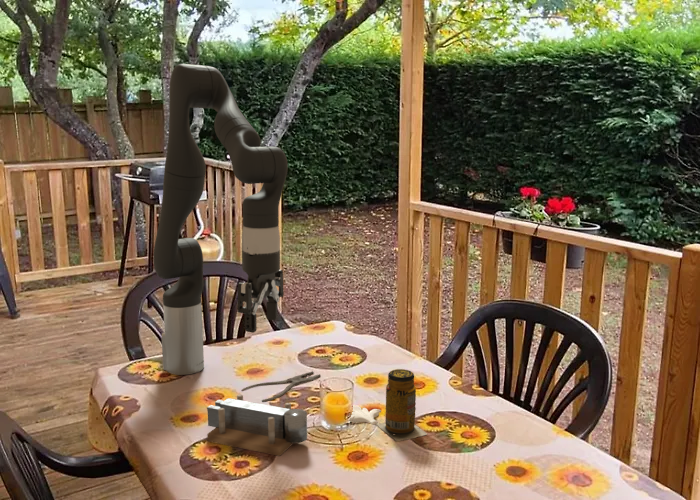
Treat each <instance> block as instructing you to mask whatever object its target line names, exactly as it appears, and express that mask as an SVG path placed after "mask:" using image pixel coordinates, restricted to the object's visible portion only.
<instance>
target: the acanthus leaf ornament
mask: <svg viewBox="0 0 700 500" xmlns="http://www.w3.org/2000/svg"><path fill="white" fill-rule="evenodd" d="M381 412H382V410H381V409H377V408H373V409H371V410H370V411H369V410H368V409H367V408H366V407H363V408H361V407H360V406H358V405H355V404H353V412H352V415H351V417H350V421H351V422H353V423H354V424H357V423H369V424H371V425H377V424H379V423H378V420H375V418H377V417H378V416H379V415H380V413H381Z"/></svg>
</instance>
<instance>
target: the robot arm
mask: <svg viewBox="0 0 700 500" xmlns="http://www.w3.org/2000/svg"><path fill="white" fill-rule="evenodd" d="M234 97H235V96H234V95H233V93H232V91H231V89H230V86H229V85H228V83H227V81H226V79H225V77H224V76H223V74H222V72H221V71H220V70H219V69H217V68H216V67H213V66H210V65H199V64H188V63H187V64H186V63H179V64H176V65H175V66H174V67H173V69H172V72H171V76H170V80H169V102H168V103H169V104H168V105H169V106H168V107H169V108H168V109H169V111H168V112H169V113H168V116H169V117H168V137H167V146H166V147H167V148H166V157H165V163H164V170H163V171H164V173H163V185H162V199H161V207H160V208H161V209H160V216H159V221H158V222H159V223H158V227H157V232H156V236H155V242H154V248H153V260H152V261H153V267H154V271H155V273H156V275H157V276H158V277H159V278H161V279H164V280H171V279H176V278H178V280H177V281H176V283H174V285H172V286H171V287H170V288H168V289H166V290H165V291H164V292H163V294H162V305H163V306H162V309H163V325H164V332H162V333H161V336H160V337H161V351H162V352H161V354H162V369H163V371H167V373H170V374H171V375H175V376H176V375H178V376H180V375H181V376H183V375H185V376H187V375H192V374H196V373H199V372H200V371H202V370H203V369H204V368H205V359H204V337H203V336H204V334H203V313H202V295H203V290H204V255H203V251H202V250H203V249H202V247H201V244H200V243H199V242H198V240H196V238H193V237H184V238H179V237H180V234H181V230H182V227H183V226H184V223H185V222H186V221H187V219H188V217H189V215H190V214H191V213H192V211H193V210H194V209H195V208H196V205H198V203H199V201H200V199H201V198H202V196H203V192H204V189H205V188H204V187H205V181H206V180H205V179H206V172H207V171H206V170H207V165H206V161H205V158H204V156H203V154H202V151H201V150H200V148H199V146H198V143H197V142H196V140H195V139H194V136H193V133H192V130H191V128H190V127H191V126H190V108H191V109H193V108H194V109H213V110H215V112H216V115H215V119H214V126H213V127H214V131H215V135H216V137H217V138H218V140H219V142H220V143H221V144H222V146H223V147H224V149H225V150H226V152H228V156H229V159H230V162H231V167H232V170H233V171H232V172H233V175H234V176H235V178H236V179H237V180H238V181H239V182H241V183H243V184H246V185H253V184H262V186H261V188H260V191H258V192H256V193H254V194H251V195H247V196H246V197H245V198H244V199H243V201H242V232H241V233H242V234H241V265H242V267H241V269H242V271H243V272H244V273H245V274H247V280H246V282H238V284H237V313H240V314H244V331H245V332H247V333H253V334H254V333H255V332H257V328H258V327H257V312H258V311H257V310H258V308H259V306H261V304H262V303H263V300H264V299H265V300H266V301H267V302H266V318H267V320H270V321H276V320H277V319H278V303H279V302H280V298H282V297H284V294H285V293H284V270H282V269H281V235H280V234H281V233H280V228H279V227H280V226H279V224H280V221H279V215H280V214H279V210H280V201H281V197H282V193H283V191H284V190H283V189H284V187H285V182H286V179H287V175H288V168H289V164H288V159H287V156H286V154H285V152H284V151H283V150H282V149H281V148H280V147H278V146H261V145H262V143H261V137H260V135H259V133H258V132H257V131H256V129H255V128H254V127H253V126H252V125H251V123H250V122H249V121H248V120H247V118H246V117H245V116H244V115H243V113H242V111H241V109H240V108H239V106H238V104H237V101H236V99H235V98H234ZM277 287H278V288H277Z"/></svg>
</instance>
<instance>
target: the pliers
mask: <svg viewBox="0 0 700 500" xmlns="http://www.w3.org/2000/svg"><path fill="white" fill-rule="evenodd" d="M313 374H314V371H313V370H312V371H308V372H306V373H302V374H298V375H296V376H293V377H290V378H287V379H285V380H277V381H269V382H267V381H266V382H260V383H256V384H255V383H254V384H252V385H249V386H248V385H247V386H246V387H243V388H242V389H241V391H242V392H244V391H247V390H249V389H252V388H256V387H261V386H262V387H263V386H273V385H286V384H288V385H287V386H286V387H285V388H284V389H283V390H282V391H281V392H280V393H279V394H277V395H274V396H272V397H268V398H265V399H262V400H261V402H262V403H264V402H269V401H273V400H275V399H278V398H280V397H282V396H284V395H286V393H288V391H290V390H291V389H292V388H293V387H295V386H298V385H300V384H304V383H309V382H312V381H315V380H317V379H319V378H320V377H321V374H315V375H313ZM312 375H313V376H312Z"/></svg>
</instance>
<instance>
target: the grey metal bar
mask: <svg viewBox="0 0 700 500" xmlns="http://www.w3.org/2000/svg"><path fill="white" fill-rule="evenodd" d="M219 408H224V409H225V428H228V429H233V430H238V431H243V432H248V433H253V434H259V435H264V436H268V418H269V417H274V422H275V438H279V439H285V440H286V441H287V442H290V443H293V444H300V443H303V442H305V441H306V440H308V413H307V411H306V410H304V409H301V408H293V409H292V408H291V410H290V409H286V408H285V407H280V406H273V405H270V404H263V403H257V402H252V401H245V400H243V401H242V400H237V398H236V399H235V398H226V399H225V400H222V399H217V400H216V401H215V402H214V405H212V404H210V405H209V406H207V407H206V409H207V427H212V428H219V413H218V409H219Z"/></svg>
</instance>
